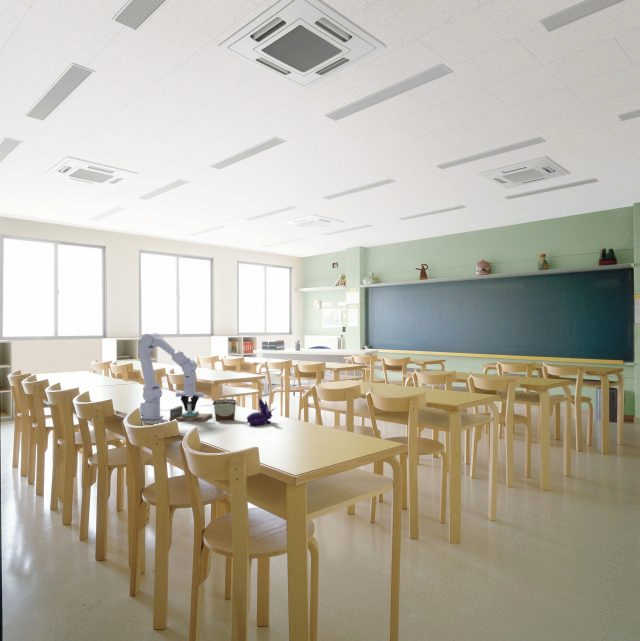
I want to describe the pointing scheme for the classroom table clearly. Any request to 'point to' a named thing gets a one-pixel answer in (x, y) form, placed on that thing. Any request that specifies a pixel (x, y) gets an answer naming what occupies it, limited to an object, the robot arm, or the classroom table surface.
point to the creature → (260, 415)
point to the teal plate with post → (189, 411)
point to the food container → (225, 409)
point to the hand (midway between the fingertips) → (190, 410)
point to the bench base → (177, 412)
